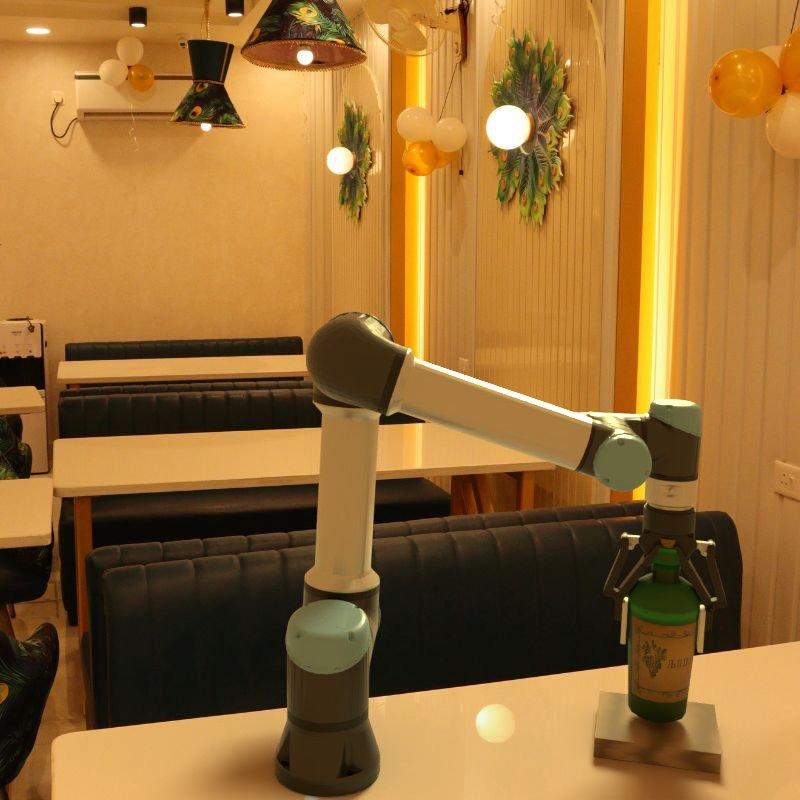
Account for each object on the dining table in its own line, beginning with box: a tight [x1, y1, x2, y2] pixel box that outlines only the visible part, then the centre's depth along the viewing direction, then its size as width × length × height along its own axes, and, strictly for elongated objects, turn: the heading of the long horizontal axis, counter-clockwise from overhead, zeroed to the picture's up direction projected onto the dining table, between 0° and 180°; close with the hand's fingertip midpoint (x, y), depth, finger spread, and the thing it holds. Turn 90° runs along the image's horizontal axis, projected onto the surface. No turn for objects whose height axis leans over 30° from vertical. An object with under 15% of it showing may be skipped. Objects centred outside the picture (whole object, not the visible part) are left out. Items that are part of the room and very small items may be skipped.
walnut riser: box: [593, 690, 722, 774], centre depth 154 cm, size 18×16×3 cm
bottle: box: [627, 538, 702, 723], centre depth 152 cm, size 11×11×28 cm
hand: (661, 644), depth 152 cm, fingers closed on bottle, 11 cm apart
